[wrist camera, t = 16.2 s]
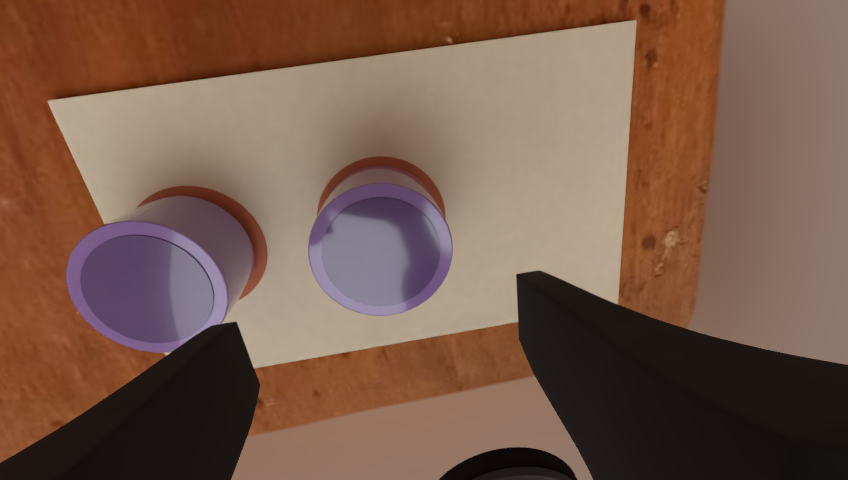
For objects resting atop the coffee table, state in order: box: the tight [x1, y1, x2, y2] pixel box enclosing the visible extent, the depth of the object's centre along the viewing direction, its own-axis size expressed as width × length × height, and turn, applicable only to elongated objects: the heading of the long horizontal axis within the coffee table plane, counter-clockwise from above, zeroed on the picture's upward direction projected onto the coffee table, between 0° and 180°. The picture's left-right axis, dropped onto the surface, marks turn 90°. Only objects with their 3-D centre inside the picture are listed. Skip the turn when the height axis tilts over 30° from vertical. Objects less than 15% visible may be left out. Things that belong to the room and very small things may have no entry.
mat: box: [47, 20, 637, 368], centre depth 19 cm, size 24×14×1 cm, turn 97°
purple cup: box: [308, 166, 453, 316], centre depth 16 cm, size 5×5×4 cm
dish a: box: [66, 196, 255, 353], centre depth 16 cm, size 5×5×4 cm
